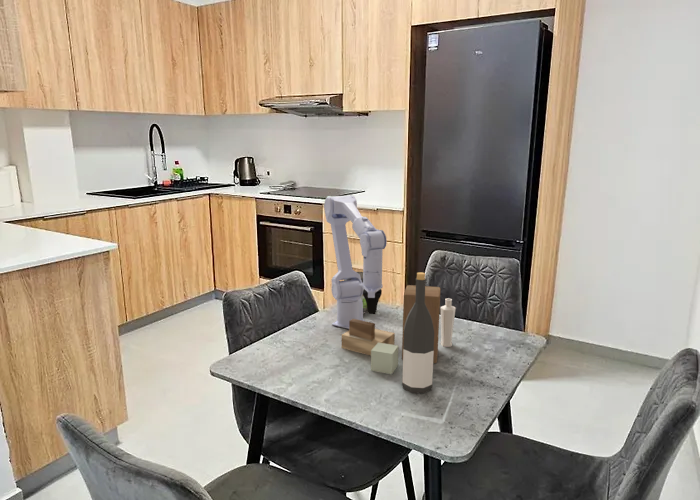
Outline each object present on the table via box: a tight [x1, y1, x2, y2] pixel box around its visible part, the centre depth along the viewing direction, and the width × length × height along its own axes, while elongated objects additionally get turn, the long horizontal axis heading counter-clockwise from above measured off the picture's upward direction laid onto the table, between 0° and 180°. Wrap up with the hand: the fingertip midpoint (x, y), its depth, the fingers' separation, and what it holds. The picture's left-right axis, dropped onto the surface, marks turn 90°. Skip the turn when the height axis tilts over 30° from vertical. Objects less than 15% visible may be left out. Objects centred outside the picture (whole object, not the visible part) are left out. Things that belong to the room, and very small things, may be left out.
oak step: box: [341, 328, 396, 357], centre depth 148 cm, size 10×13×4 cm
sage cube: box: [370, 343, 400, 375], centre depth 134 cm, size 6×6×6 cm
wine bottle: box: [401, 271, 434, 394], centre depth 121 cm, size 8×8×30 cm
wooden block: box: [401, 284, 441, 364], centre depth 141 cm, size 10×10×20 cm
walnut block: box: [348, 319, 376, 342], centre depth 144 cm, size 2×8×5 cm, turn 58°
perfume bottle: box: [440, 297, 457, 348], centre depth 149 cm, size 5×4×15 cm
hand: (372, 313), depth 149 cm, fingers closed
